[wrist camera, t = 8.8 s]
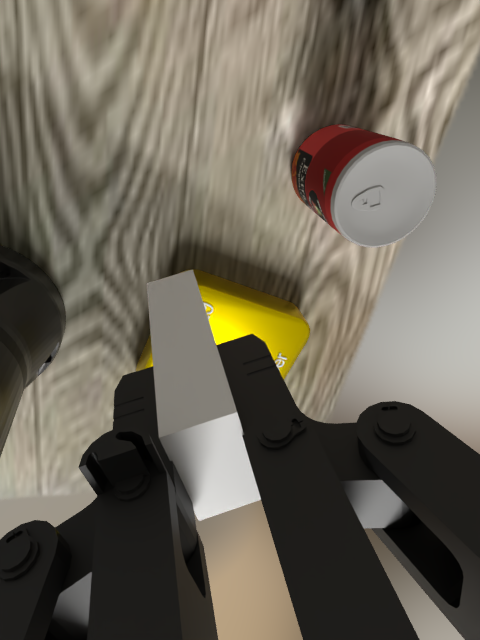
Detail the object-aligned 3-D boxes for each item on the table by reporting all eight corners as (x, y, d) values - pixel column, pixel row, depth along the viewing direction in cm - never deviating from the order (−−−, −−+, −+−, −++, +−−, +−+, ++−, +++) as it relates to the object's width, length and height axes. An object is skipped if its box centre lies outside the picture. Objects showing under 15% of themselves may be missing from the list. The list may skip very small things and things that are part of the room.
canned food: (275, 151, 38) (318, 178, 29) (355, 104, 37) (425, 118, 28) (306, 223, 42) (352, 267, 33) (378, 182, 42) (446, 216, 32)
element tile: (247, 404, 54) (256, 432, 50) (130, 377, 48) (129, 405, 44) (304, 305, 48) (320, 327, 44) (179, 261, 42) (183, 282, 38)
